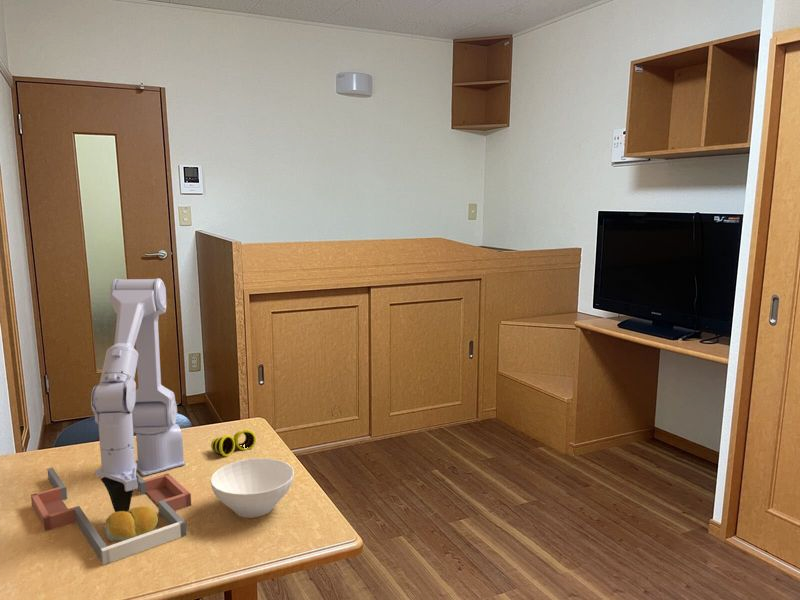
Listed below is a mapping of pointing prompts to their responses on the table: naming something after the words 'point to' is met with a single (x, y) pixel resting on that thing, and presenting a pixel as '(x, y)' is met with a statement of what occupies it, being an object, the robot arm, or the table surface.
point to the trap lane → (57, 515)
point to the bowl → (252, 485)
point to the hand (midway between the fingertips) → (122, 512)
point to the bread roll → (130, 523)
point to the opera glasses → (233, 443)
